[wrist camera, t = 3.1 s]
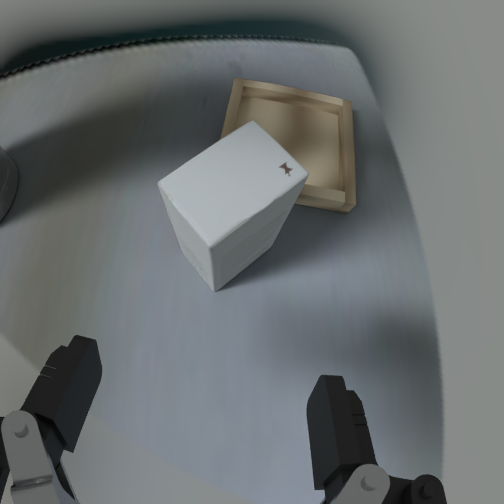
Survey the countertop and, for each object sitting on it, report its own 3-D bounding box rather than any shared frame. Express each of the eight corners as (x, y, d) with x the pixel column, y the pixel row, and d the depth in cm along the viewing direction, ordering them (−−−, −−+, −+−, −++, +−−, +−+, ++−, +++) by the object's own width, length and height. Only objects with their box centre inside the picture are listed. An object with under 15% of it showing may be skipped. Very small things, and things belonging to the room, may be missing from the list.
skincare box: (238, 208, 27) (255, 115, 16) (272, 247, 26) (314, 173, 15) (179, 253, 25) (153, 180, 14) (213, 295, 25) (212, 251, 13)
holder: (211, 190, 27) (211, 179, 25) (233, 90, 31) (234, 77, 29) (347, 213, 28) (355, 204, 26) (345, 112, 31) (351, 101, 30)
